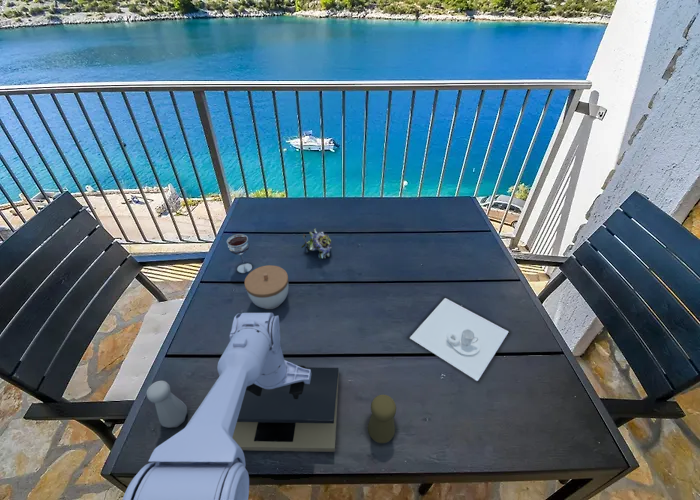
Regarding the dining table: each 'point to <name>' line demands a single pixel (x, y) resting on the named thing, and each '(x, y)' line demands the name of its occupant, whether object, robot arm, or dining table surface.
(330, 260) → the dining table surface
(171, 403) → the salt shaker
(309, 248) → the passion flower
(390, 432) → the olive peanut shape
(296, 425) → the netbook
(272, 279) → the lidded bowl
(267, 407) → the panel
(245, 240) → the wineglass
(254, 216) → the dining table surface
